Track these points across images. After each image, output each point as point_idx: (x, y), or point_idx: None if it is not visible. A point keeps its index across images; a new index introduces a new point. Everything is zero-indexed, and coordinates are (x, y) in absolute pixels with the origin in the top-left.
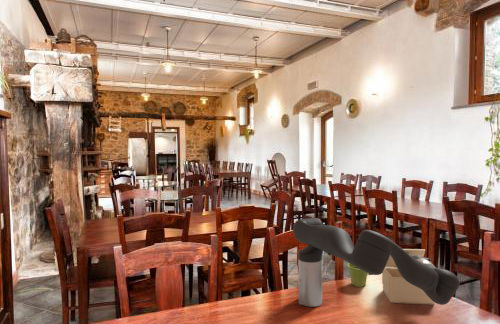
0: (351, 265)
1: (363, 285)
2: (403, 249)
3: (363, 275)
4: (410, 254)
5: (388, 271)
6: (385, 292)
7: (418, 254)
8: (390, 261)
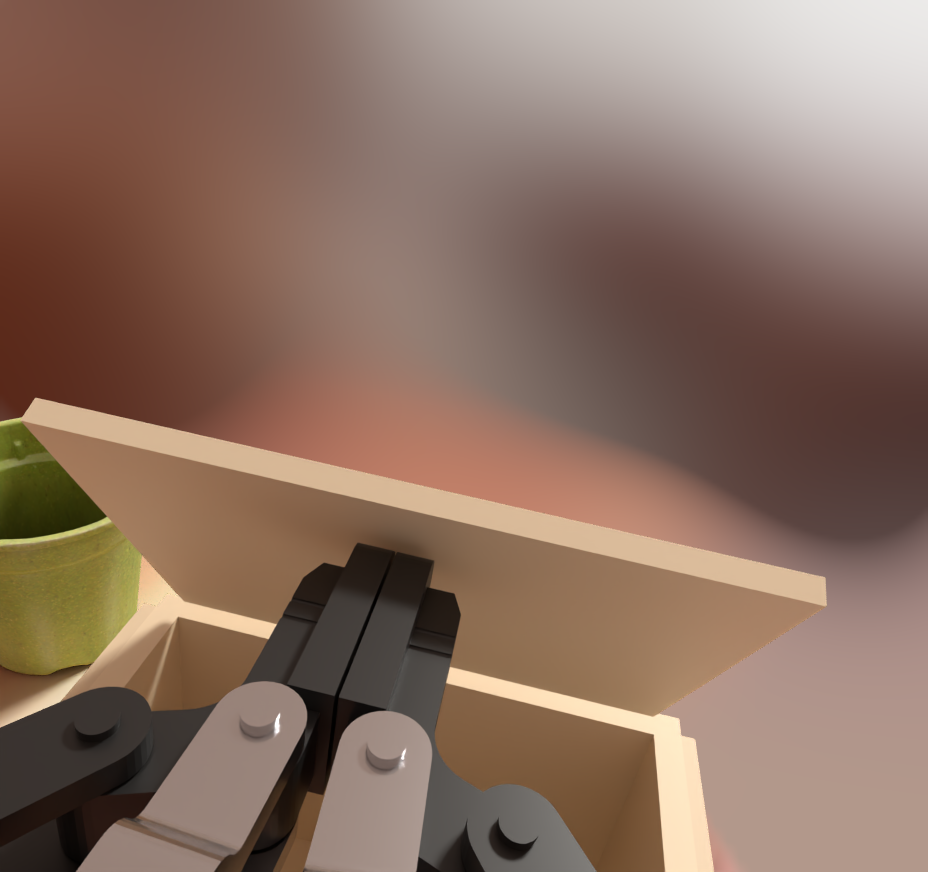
0: (40, 445)
1: (58, 667)
2: (335, 482)
3: (26, 595)
4: (444, 629)
5: (218, 660)
6: None
7: (650, 620)
8: (204, 576)
